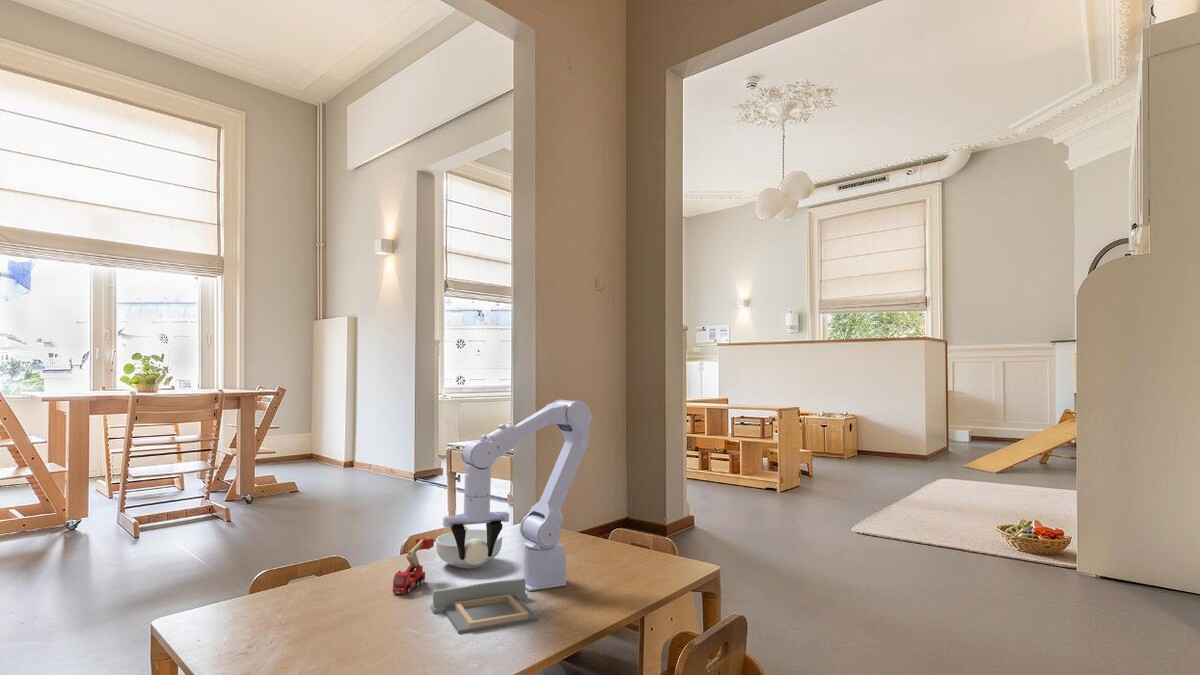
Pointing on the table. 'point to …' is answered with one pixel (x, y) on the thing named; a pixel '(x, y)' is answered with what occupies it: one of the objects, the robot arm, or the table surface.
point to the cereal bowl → (449, 546)
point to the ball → (476, 551)
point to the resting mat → (488, 613)
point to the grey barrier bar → (477, 593)
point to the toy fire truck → (412, 569)
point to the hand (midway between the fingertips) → (475, 557)
